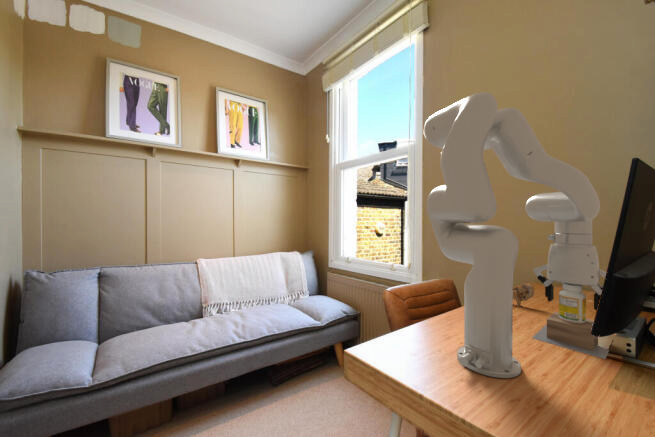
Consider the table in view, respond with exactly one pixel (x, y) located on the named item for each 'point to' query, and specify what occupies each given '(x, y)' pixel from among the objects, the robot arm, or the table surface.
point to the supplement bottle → (572, 303)
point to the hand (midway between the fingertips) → (572, 304)
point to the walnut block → (571, 332)
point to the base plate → (595, 352)
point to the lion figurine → (523, 293)
